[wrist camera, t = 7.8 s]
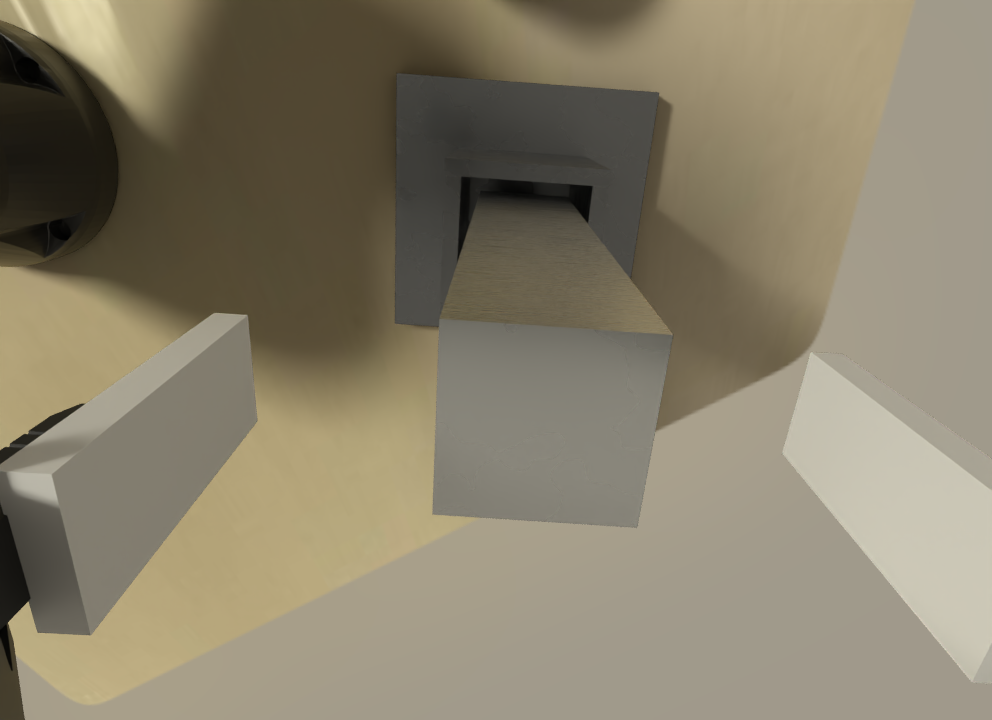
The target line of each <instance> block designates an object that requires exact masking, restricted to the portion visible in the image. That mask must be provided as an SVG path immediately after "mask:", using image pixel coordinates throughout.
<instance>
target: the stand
mask: <svg viewBox="0 0 992 720" xmlns="http://www.w3.org/2000/svg"><path fill="white" fill-rule="evenodd" d="M658 97H659V93H658V92H644V91H631V90H617V89H604V88H590V87H577V86H563V85H550V84H536V83H523V82H509V81H496V80H482V79H468V78H455V77H441V76H428V75H414V74H401V73H397V95H396V255H395V324H409V325H423V326H438V327H439V318H440V315H441V312H442V309H443V306H444V303H445V300H446V297H447V294H448V290H449V287H450V284H451V281H452V278H453V275H454V272H455V269H456V266H457V262H458V259H459V256H460V253H461V250H462V247H463V244H464V241H465V238H466V234H467V231H468V228H469V225H470V222H471V219H472V216H473V213H474V210H475V206H476V203H477V200H478V197H479V194H480V191H495V192H509V193H523V194H537V195H551V196H565V197H568V199H569V200H570V201H571V203H572V204H573V205H574V206H575V208H576V209H577V210H578V212H579V213H580V214H581V216H582V217H583V218H584V219H585V221H586V222H587V223H588V225H589V226H590V227H591V229H592V230H593V231H594V232H595V234H596V235H597V236H598V238H599V239H600V240H601V242H602V243H603V244H604V245H605V247H606V248H607V249H608V251H609V252H610V253H611V255H612V256H613V257H614V258H615V260H616V261H617V262H618V264H619V265H620V266H621V268H622V269H623V270H624V271H625V273H626V274H627V275H628V277H629V278H630V279H631V273H632V266H633V260H634V253H635V247H636V240H637V234H638V227H639V221H640V214H641V208H642V201H643V195H644V188H645V182H646V175H647V169H648V162H649V156H650V149H651V143H652V136H653V130H654V123H655V117H656V110H657V104H658Z"/></svg>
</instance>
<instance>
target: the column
mask: <svg viewBox="0 0 992 720" xmlns="http://www.w3.org/2000/svg"><path fill="white" fill-rule="evenodd" d="M672 339H673V334H672V333H671V331H670V330H669V329H668V327H667V326H666V325H665V324H664V322H663V321H662V320H661V318H660V317H659V316H658V314H657V313H656V312H655V311H654V309H653V308H652V307H651V305H650V304H649V303H648V301H647V300H646V299H645V298H644V296H643V295H642V294H641V292H640V291H639V290H638V288H637V287H636V286H635V285H634V283H633V282H632V281H631V279H630V278H629V277H628V275H627V274H626V273H625V271H624V270H623V269H622V268H621V266H620V265H619V264H618V262H617V261H616V260H615V258H614V257H613V256H612V255H611V253H610V252H609V251H608V249H607V248H606V247H605V245H604V244H603V243H602V242H601V240H600V239H599V238H598V236H597V235H596V234H595V232H594V231H593V230H592V229H591V227H590V226H589V225H588V223H587V222H586V221H585V219H584V218H583V217H582V216H581V214H580V213H579V212H578V210H577V209H576V208H575V206H574V205H573V204H572V203H571V201H570V200H569V199H568V197H565V196H551V195H537V194H523V193H509V192H495V191H480V194H479V197H478V200H477V203H476V206H475V210H474V213H473V216H472V219H471V222H470V225H469V228H468V231H467V234H466V238H465V241H464V244H463V247H462V250H461V253H460V256H459V259H458V262H457V266H456V269H455V272H454V275H453V278H452V281H451V284H450V287H449V290H448V294H447V297H446V300H445V303H444V306H443V309H442V312H441V315H440V318H439V344H438V372H437V401H436V430H435V459H434V488H433V514H434V515H449V516H465V517H480V518H496V519H512V520H527V521H542V522H558V523H573V524H589V525H604V526H620V527H636V528H637V526H638V521H639V515H640V510H641V504H642V499H643V494H644V488H645V483H646V478H647V472H648V467H649V461H650V456H651V451H652V446H653V440H654V435H655V430H656V424H657V419H658V414H659V408H660V403H661V398H662V392H663V387H664V382H665V376H666V371H667V366H668V360H669V355H670V350H671V344H672Z"/></svg>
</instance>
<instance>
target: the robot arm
mask: <svg viewBox="0 0 992 720" xmlns="http://www.w3.org/2000/svg"><path fill="white" fill-rule="evenodd" d="M117 183H118V164H117V155H116V150H115V145H114V141H113V137H112V134H111V131H110V128H109V125H108V123H107V120H106V118H105V116H104V113H103V111H102V109H101V107H100V105H99V104H98V102H97V100H96V98H95V97H94V95H93V94H92V92H91V90H90V89H89V88H88V86H87V85H86V83H85V82H84V81H83V79H82V78H81V77H80V76H79V75H78V73H77V72H76V71H75V70H74V69H73V68H72V67H71V66H70V65H69V64H68V63H67V62H66V61H65V60H64V59H63V58H62V57H61V56H60V55H59V54H58V53H57V52H55V51H54V50H53V49H52V48H50V47H49V46H48V45H47V44H45V43H44V42H42V41H41V40H39V39H38V38H36V37H35V36H33V35H31V34H30V33H28V32H26V31H24V30H22V29H20V28H18V27H16V26H14V25H11V24H9V23H6V22H3V21H1V20H0V266H1V267H17V266H27V265H33V264H38V263H42V262H45V261H48V260H51V259H55V258H58V257H61V256H64V255H67V254H69V253H71V252H73V251H75V250H77V249H79V248H81V247H82V246H84V245H85V244H86V243H88V242H89V241H90V240H91V239H92V238H93V237H94V236H95V235H96V234H97V233H98V232H99V231H100V229H101V228H102V227H103V225H104V223H105V222H106V220H107V218H108V216H109V214H110V212H111V209H112V207H113V204H114V200H115V196H116V191H117ZM256 422H257V411H256V400H255V389H254V378H253V367H252V356H251V344H250V333H249V322H248V315H240V314H225V313H213V314H212V315H210V316H209V317H208V318H206V319H205V320H203V321H202V322H201V323H199V324H198V325H196V326H195V327H194V328H192V329H191V330H189V331H188V332H186V333H185V334H184V335H182V336H181V337H179V338H178V339H177V340H175V341H174V342H172V343H171V344H169V345H168V346H167V347H165V348H164V349H162V350H161V351H160V352H158V353H157V354H155V355H154V356H153V357H151V358H150V359H148V360H147V361H145V362H144V363H143V364H141V365H140V366H138V367H137V368H136V369H134V370H133V371H131V372H130V373H129V374H127V375H126V376H124V377H123V378H121V379H120V380H119V381H117V382H116V383H114V384H113V385H112V386H110V387H109V388H107V389H106V390H104V391H103V392H102V393H100V394H99V395H97V396H96V397H95V398H93V399H92V400H90V401H89V402H88V403H86V404H79V405H77V406H74V407H72V408H69V409H67V410H64V411H62V412H59V413H57V414H54V415H52V416H50V417H49V418H47V419H46V420H44V421H43V422H41V423H40V424H38V425H37V426H35V427H34V428H32V429H31V430H29V433H28V434H24V435H22V436H21V437H19V438H18V439H16V440H15V441H13V442H12V443H10V447H4V448H3V449H2V450H0V720H25V718H24V712H23V705H22V698H21V691H20V684H19V677H18V670H17V663H16V656H15V649H14V642H13V638H12V635H11V631H10V628H9V625H8V622H9V621H10V620H11V619H12V618H13V616H14V615H15V614H16V613H17V612H18V611H19V610H20V609H21V608H22V607H23V606H24V605H25V604H26V603H27V602H28V601H29V604H30V608H31V611H32V615H33V618H34V622H35V625H36V629H37V632H38V633H57V634H75V635H91V634H92V633H93V632H94V631H95V629H96V628H97V627H98V625H99V624H100V623H101V622H102V620H103V619H104V618H105V616H106V615H107V614H108V613H109V611H110V610H111V609H112V607H113V606H114V605H115V604H116V602H117V601H118V600H119V598H120V597H121V596H122V595H123V593H124V592H125V591H126V589H127V588H128V587H129V586H130V584H131V583H132V582H133V580H134V579H135V578H136V577H137V575H138V574H139V573H140V571H141V570H142V569H143V568H144V566H145V565H146V564H147V562H148V561H149V560H150V559H151V557H152V556H153V555H154V553H155V552H156V551H157V550H158V548H159V547H160V546H161V544H162V543H163V542H164V541H165V539H166V538H167V537H168V535H169V534H170V533H171V532H172V530H173V529H174V528H175V526H176V525H177V524H178V523H179V521H180V520H181V519H182V517H183V516H184V515H185V514H186V512H187V511H188V510H189V509H190V507H191V506H192V505H193V503H194V502H195V501H196V500H197V498H198V497H199V496H200V494H201V493H202V492H203V491H204V489H205V488H206V487H207V485H208V484H209V483H210V482H211V480H212V479H213V478H214V476H215V475H216V474H217V473H218V471H219V470H220V469H221V467H222V466H223V465H224V464H225V462H226V461H227V460H228V458H229V457H230V456H231V455H232V453H233V452H234V451H235V449H236V448H237V447H238V446H239V444H240V443H241V442H242V440H243V439H244V438H245V437H246V435H247V434H248V433H249V431H250V430H251V429H252V428H253V426H254V425H255V424H256ZM782 454H783V455H784V456H785V458H786V459H787V460H788V461H789V462H790V464H791V465H792V466H793V467H794V468H795V470H796V471H797V472H798V473H799V475H800V476H801V477H802V478H803V479H804V481H805V482H806V483H807V484H808V485H809V487H810V488H811V489H812V490H813V491H814V492H815V494H816V495H817V496H818V497H819V499H820V500H821V501H822V502H823V503H824V505H825V506H826V507H827V508H828V509H829V511H830V512H831V513H832V514H833V515H834V517H835V518H836V519H837V520H838V521H839V523H840V524H841V525H842V526H843V528H844V529H845V530H846V531H847V532H848V533H849V535H850V536H851V537H852V538H853V540H854V541H855V542H856V543H857V544H858V546H859V547H860V548H861V549H862V550H863V552H864V553H865V554H866V555H867V556H868V557H869V559H870V560H871V561H872V562H873V564H874V565H875V566H876V567H877V568H878V570H879V571H880V572H881V573H882V575H883V576H884V577H885V578H886V579H887V581H888V582H889V583H890V584H891V585H892V587H893V588H894V589H895V590H896V591H897V593H898V594H899V595H900V596H901V597H902V599H904V601H905V602H906V603H907V605H908V606H909V607H910V608H911V609H912V611H913V612H914V613H915V614H916V615H917V617H918V618H919V619H920V620H921V622H922V623H923V624H924V625H925V626H926V628H927V629H928V630H929V631H930V632H931V634H932V635H933V636H934V637H935V638H936V640H937V641H938V642H939V643H940V644H941V645H942V647H943V648H944V649H945V650H946V652H947V653H948V654H949V655H950V656H951V658H952V659H953V660H954V661H955V662H956V664H957V665H958V666H959V667H960V668H961V670H962V671H963V672H964V673H965V675H966V676H967V677H968V678H969V679H970V681H971V682H976V683H992V458H990V457H989V456H988V455H986V454H985V453H983V452H982V451H980V450H979V449H977V448H976V447H975V446H973V445H972V444H970V443H969V442H968V441H966V440H965V439H963V438H962V437H960V436H959V435H958V434H956V433H955V432H953V431H952V430H950V429H949V428H948V427H946V426H945V425H943V424H942V423H940V422H939V421H938V420H936V419H935V418H934V417H932V416H931V415H929V414H928V413H926V412H925V411H924V410H922V409H921V408H919V407H918V406H916V405H915V404H913V403H912V402H911V401H909V400H908V399H906V398H905V397H903V396H902V395H901V394H899V393H898V392H897V391H895V390H894V389H892V388H891V387H889V386H888V385H887V384H885V383H884V382H882V381H881V380H879V379H878V378H877V377H875V376H874V375H872V374H871V373H869V372H868V371H867V370H865V369H864V368H862V367H861V366H860V365H858V364H856V363H855V362H854V361H852V360H851V359H850V358H848V357H847V356H845V355H844V354H837V353H822V352H811V353H810V357H809V360H808V364H807V367H806V370H805V374H804V378H803V381H802V385H801V388H800V392H799V396H798V399H797V402H796V406H795V409H794V413H793V416H792V420H791V423H790V427H789V431H788V435H787V438H786V442H785V445H784V448H783V452H782Z"/></svg>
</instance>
